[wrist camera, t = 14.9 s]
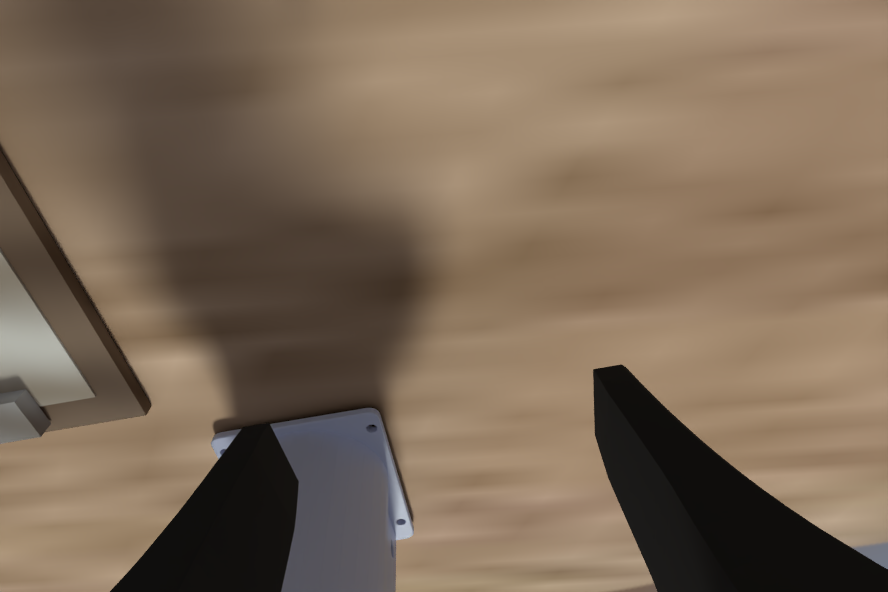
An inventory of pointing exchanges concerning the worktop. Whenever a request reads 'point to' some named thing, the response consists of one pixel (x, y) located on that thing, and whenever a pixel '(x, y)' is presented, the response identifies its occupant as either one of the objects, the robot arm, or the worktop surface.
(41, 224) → the clipboard
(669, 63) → the worktop surface
